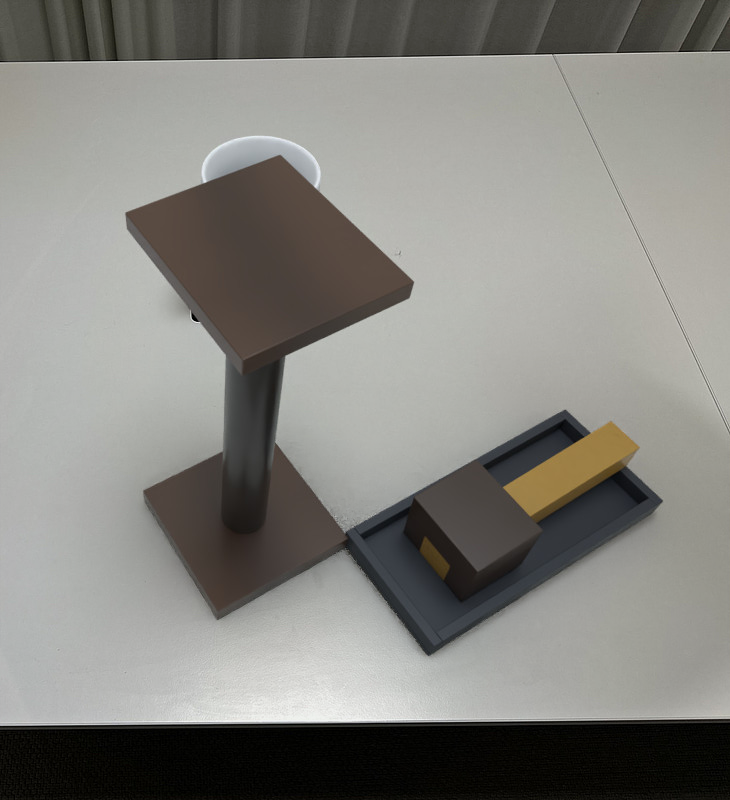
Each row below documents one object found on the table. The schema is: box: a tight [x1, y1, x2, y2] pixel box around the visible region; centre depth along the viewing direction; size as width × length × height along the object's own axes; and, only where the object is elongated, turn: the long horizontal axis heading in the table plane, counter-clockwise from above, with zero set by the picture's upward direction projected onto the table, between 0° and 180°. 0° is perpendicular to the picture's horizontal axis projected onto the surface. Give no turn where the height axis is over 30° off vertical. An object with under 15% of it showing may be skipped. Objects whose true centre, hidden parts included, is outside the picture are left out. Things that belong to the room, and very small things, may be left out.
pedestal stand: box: [124, 155, 415, 620], centre depth 53 cm, size 12×12×30 cm
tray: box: [344, 409, 664, 657], centre depth 63 cm, size 24×11×2 cm, turn 120°
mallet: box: [403, 420, 641, 602], centre depth 61 cm, size 19×7×6 cm, turn 120°
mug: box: [200, 135, 322, 192], centre depth 76 cm, size 15×11×13 cm
